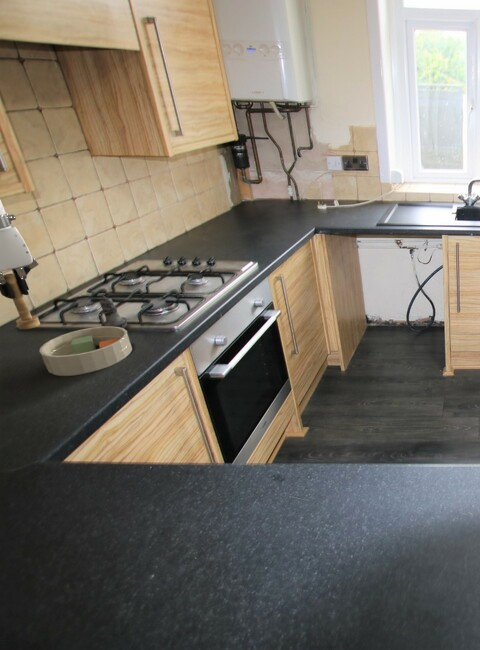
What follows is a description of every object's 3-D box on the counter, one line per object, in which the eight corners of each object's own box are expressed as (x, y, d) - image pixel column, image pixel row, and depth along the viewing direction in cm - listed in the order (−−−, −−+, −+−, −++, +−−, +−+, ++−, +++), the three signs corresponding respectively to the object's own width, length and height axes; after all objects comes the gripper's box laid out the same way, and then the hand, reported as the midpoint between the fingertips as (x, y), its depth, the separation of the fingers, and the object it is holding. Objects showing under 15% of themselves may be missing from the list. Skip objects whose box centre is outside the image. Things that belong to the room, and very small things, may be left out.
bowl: (45, 385, 113) (36, 363, 110) (50, 357, 125) (42, 336, 123) (134, 364, 123) (128, 344, 120) (131, 340, 135) (125, 321, 133)
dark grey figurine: (107, 339, 135) (90, 301, 130) (106, 332, 139) (89, 295, 134) (132, 333, 138) (117, 296, 133) (130, 325, 142) (115, 289, 137)
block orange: (104, 361, 122) (99, 347, 121) (103, 355, 125) (99, 341, 124) (123, 356, 125) (119, 343, 123) (122, 351, 127) (118, 337, 126)
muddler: (18, 330, 119) (-4, 278, 113) (19, 325, 122) (-3, 274, 116) (40, 326, 121) (19, 275, 116) (40, 321, 124) (20, 271, 118)
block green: (76, 358, 123) (71, 344, 122) (77, 352, 126) (72, 339, 124) (96, 354, 126) (91, 340, 124) (96, 348, 128) (91, 335, 127)
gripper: (20, 215, 119) (46, 283, 126) (-70, 228, 105) (-35, 304, 112) (37, 218, 116) (64, 288, 124) (-52, 232, 103) (-17, 310, 110)
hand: (17, 295), depth 118 cm, fingers closed on muddler, 2 cm apart
